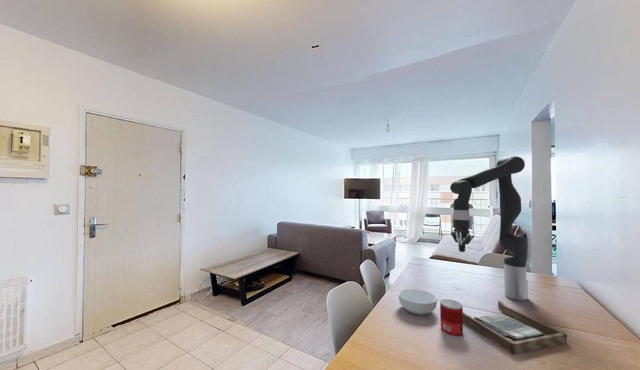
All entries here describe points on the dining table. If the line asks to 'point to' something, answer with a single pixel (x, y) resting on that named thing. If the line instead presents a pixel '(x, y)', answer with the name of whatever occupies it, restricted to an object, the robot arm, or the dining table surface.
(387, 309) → the dining table surface
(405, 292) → the cereal bowl
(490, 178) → the robot arm
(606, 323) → the dining table surface
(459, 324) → the canned food
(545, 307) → the dining table surface
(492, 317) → the dish towel
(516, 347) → the towel holder
